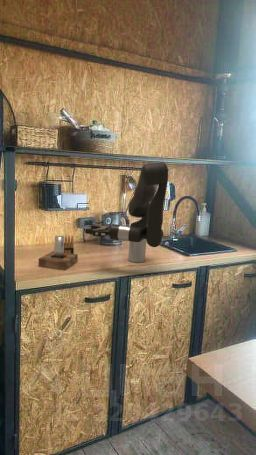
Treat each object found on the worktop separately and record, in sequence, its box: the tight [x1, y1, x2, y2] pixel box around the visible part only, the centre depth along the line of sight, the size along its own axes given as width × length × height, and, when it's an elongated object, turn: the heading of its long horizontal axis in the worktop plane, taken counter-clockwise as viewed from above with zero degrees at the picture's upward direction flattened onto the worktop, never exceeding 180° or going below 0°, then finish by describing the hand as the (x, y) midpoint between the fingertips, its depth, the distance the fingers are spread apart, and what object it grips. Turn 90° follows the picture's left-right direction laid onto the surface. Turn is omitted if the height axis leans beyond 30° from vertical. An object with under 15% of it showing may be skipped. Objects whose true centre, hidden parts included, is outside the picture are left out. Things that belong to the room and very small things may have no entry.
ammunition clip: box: [53, 234, 75, 254], centre depth 198 cm, size 11×2×12 cm, turn 116°
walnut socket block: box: [38, 250, 79, 271], centre depth 185 cm, size 16×14×4 cm
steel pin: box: [53, 235, 65, 259], centre depth 184 cm, size 5×5×14 cm
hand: (88, 229), depth 179 cm, fingers open, 8 cm apart
